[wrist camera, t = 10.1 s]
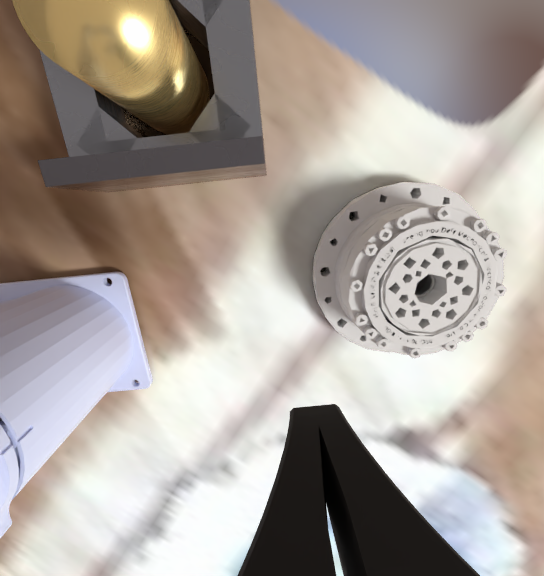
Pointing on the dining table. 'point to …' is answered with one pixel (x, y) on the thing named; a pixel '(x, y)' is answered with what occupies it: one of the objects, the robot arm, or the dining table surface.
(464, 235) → the mechanical component
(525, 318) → the dining table surface
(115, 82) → the brass cylinder rod
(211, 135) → the jig
